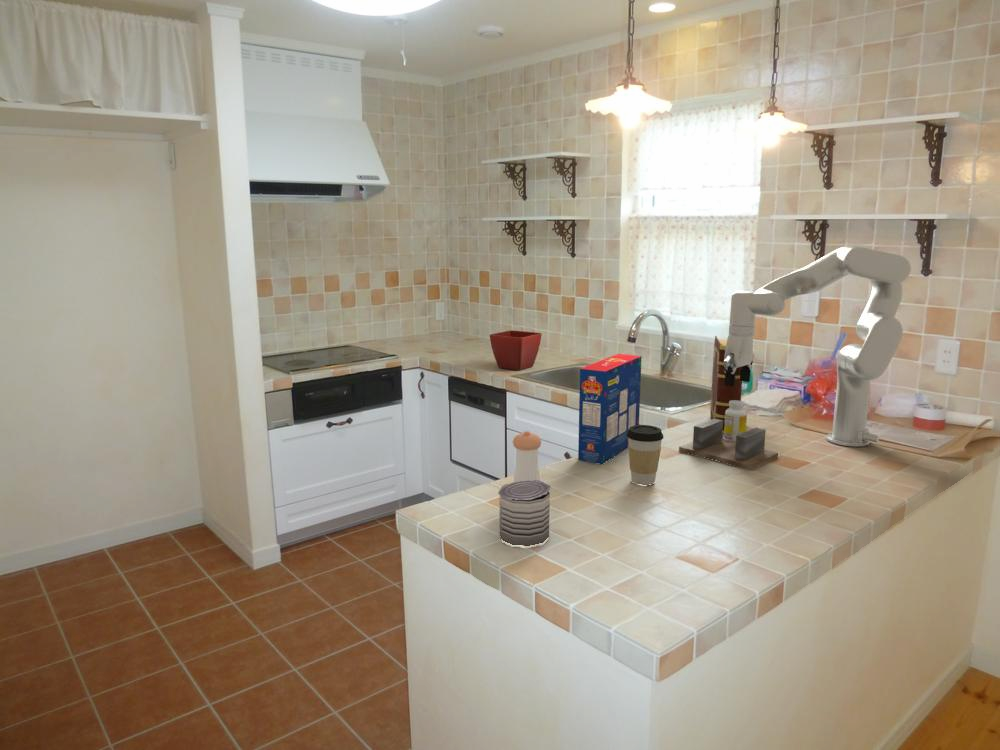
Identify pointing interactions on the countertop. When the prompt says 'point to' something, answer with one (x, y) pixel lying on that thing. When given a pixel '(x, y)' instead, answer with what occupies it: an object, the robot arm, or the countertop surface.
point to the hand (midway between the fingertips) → (737, 383)
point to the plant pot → (515, 349)
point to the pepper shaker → (526, 456)
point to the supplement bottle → (734, 420)
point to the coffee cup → (644, 452)
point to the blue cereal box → (608, 406)
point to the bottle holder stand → (729, 446)
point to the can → (524, 512)
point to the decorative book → (722, 384)
